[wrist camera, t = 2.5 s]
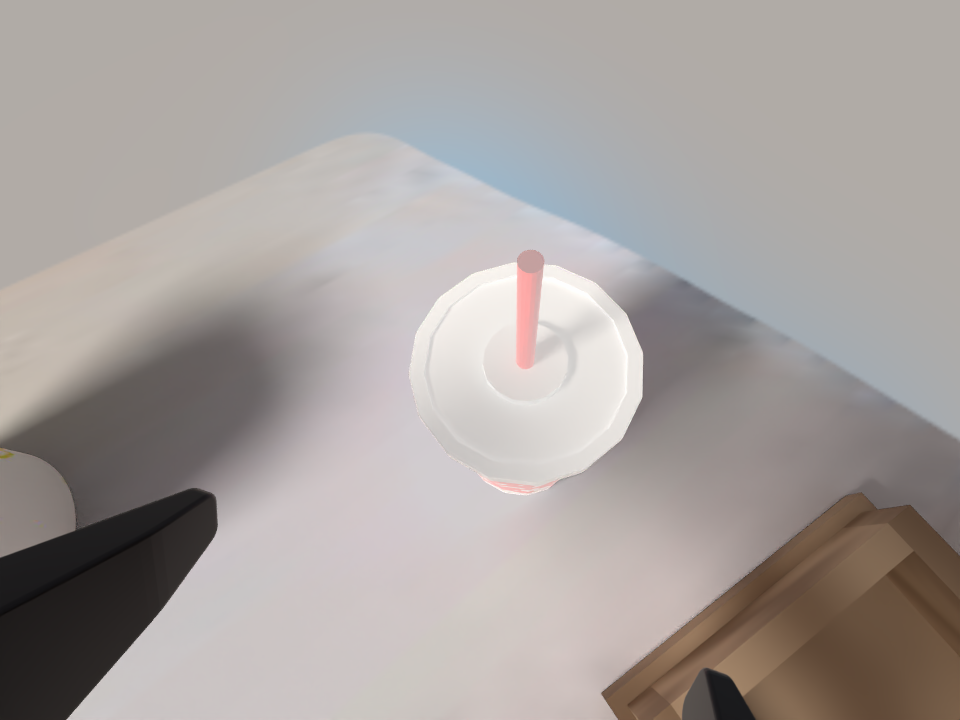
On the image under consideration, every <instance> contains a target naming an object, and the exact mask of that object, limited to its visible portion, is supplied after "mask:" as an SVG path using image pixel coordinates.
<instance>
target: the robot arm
mask: <svg viewBox="0 0 960 720" xmlns="http://www.w3.org/2000/svg"><path fill="white" fill-rule="evenodd" d="M217 527H218V522H217V504H216V497H215V496H214V494H212V493H210V492H207V491H204V490H201V489H198V488H191V489H188V490H185V491H182V492H180V493H177V494H174V495H171V496H169V497H166V498H163V499H160V500H158V501H155V502H152V503H149V504H147V505H144V506H141V507H138V508H135V509H133V510H130V511H127V512H124V513H122V514H119V515H116V516H113V517H111V518H108V519H105V520H102V521H100V522H97V523H94V524H91V525H89V526H86V527H83V528H80V529H78V530H75V531H72V532H69V533H67V534H64V535H61V536H58V537H55V538H53V539H50V540H47V541H44V542H42V543H39V544H36V545H33V546H31V547H28V548H25V549H22V550H20V551H17V552H14V553H11V554H9V555H6V556H3V557H0V720H66V719H67V718H68V717H69V716H70V715H71V714H72V713H73V711H74V710H75V709H76V708H77V707H78V706H79V705H80V703H81V702H82V701H83V700H84V699H85V698H86V697H87V695H88V694H89V693H90V692H91V691H92V690H93V688H94V687H95V686H96V685H97V684H98V683H99V682H100V680H101V679H102V678H103V677H104V676H105V675H106V674H107V672H108V671H109V670H110V669H111V668H112V667H113V666H114V664H115V663H116V662H117V661H118V660H119V659H120V657H121V656H122V655H123V654H124V653H125V652H126V651H127V649H128V648H129V647H130V646H131V645H132V644H133V643H134V641H135V640H136V639H137V638H138V637H139V636H140V635H141V633H142V632H143V631H144V630H145V629H146V628H147V626H148V625H149V624H150V623H151V622H152V621H153V619H154V618H155V617H156V616H157V615H158V613H159V612H160V611H161V610H162V609H163V607H164V606H165V605H166V603H167V602H168V601H169V599H170V598H171V597H172V595H173V594H174V592H175V591H176V590H177V588H178V587H179V585H180V584H181V583H182V581H183V580H184V579H185V577H186V576H187V574H188V573H189V572H190V570H191V569H192V567H193V566H194V565H195V563H196V562H197V561H198V559H199V558H200V556H201V555H202V554H203V552H204V551H205V549H206V548H207V547H208V545H209V544H210V543H211V541H212V540H213V538H214V536H215V534H216V531H217ZM682 720H756V718H755V717H754V715H753V713H752V712H751V710H750V708H749V707H748V705H747V703H746V701H745V700H744V698H743V696H742V695H741V693H740V691H739V690H738V688H737V686H736V684H735V683H734V681H733V680H732V679H731V678H730V677H729V676H728V675H727V674H724V673H721V672H719V671H716V670H713V669H710V668H706V667H705V668H702V669H701V670H700V671H699V673H698V675H697V677H696V678H695V680H694V682H693V684H692V686H691V687H690V689H689V691H688V693H687V694H686V697H685V699H684V703H683V708H682Z"/></svg>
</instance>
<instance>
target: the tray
mask: <svg viewBox="0 0 960 720" xmlns="http://www.w3.org/2000/svg"><path fill="white" fill-rule="evenodd" d="M705 667H706V668H710V669H713V670H716V671H719V672H721V673H724V674H727V675H728V676H729V677H730V678H731V679H732V680H733V681H734V683H735V684H736V686H737V688H738V690H739V691H740V693H741V695H742V696H743V698H744V700H745V701H746V703H747V705H748V707H749V708H750V710H751V712H752V713H753V715H754V717H755V718H756V720H960V556H959V555H958V554H957V553H956V552H955V551H954V550H953V549H952V548H951V547H950V546H949V545H948V544H947V543H946V542H945V540H944V539H943V538H942V537H941V536H940V535H939V534H938V533H937V532H936V531H935V530H934V529H933V528H932V527H931V526H930V525H929V524H928V523H927V522H926V521H925V520H924V519H923V518H922V517H921V516H920V515H919V514H918V513H917V512H916V511H915V510H914V509H913V507H912V506H911V505H906V506H899V507H892V508H886V509H879V510H878V509H877V508H876V507H875V506H874V505H873V504H872V503H871V502H870V501H869V500H868V499H867V498H866V497H865V496H864V495H863V494H862V492H861V493H857V494H852V495H847V496H845V497H844V498H842V499H841V500H840V501H839V502H837V503H836V504H835V505H834V506H833V507H831V508H830V509H829V510H828V511H826V512H825V513H824V514H823V515H821V516H820V517H819V518H818V519H816V520H815V521H814V522H813V523H811V524H810V525H809V526H808V527H807V528H805V529H804V530H803V531H802V532H800V533H799V534H798V535H797V536H795V537H794V538H793V539H792V540H790V541H789V542H788V543H787V544H785V545H784V546H783V547H782V548H780V549H779V550H778V551H777V552H776V553H774V554H773V555H772V556H771V557H769V558H768V559H767V560H766V561H764V562H763V563H762V564H761V565H759V566H758V567H757V568H756V569H754V570H753V571H752V572H751V573H750V574H748V575H747V576H746V577H745V578H743V579H742V580H741V581H740V582H738V583H737V584H736V585H735V586H733V587H732V588H731V589H730V590H728V591H727V592H726V593H725V594H724V595H722V596H721V597H720V598H719V599H717V600H716V601H715V602H714V603H712V604H711V605H710V606H709V607H707V608H706V609H705V610H704V611H702V612H701V613H700V614H699V615H698V616H696V617H695V618H694V619H693V620H691V621H690V622H689V623H688V624H686V625H685V626H684V627H683V628H681V629H680V630H679V631H678V632H676V633H675V634H674V635H673V636H671V637H670V638H669V639H668V640H667V641H665V642H664V643H663V644H662V645H660V646H659V647H658V648H657V649H655V650H654V651H653V652H652V653H650V654H649V655H648V656H647V657H645V658H644V659H643V660H642V661H641V662H639V663H638V664H637V665H636V666H634V667H633V668H632V669H631V670H629V671H628V672H627V673H626V674H624V675H623V676H622V677H621V678H619V679H618V680H617V681H616V682H615V683H613V684H612V685H611V686H610V687H608V688H607V689H606V690H605V691H603V692H602V693H601V694H602V695H603V697H604V699H605V700H606V702H607V703H608V705H609V706H610V708H611V709H612V711H613V712H614V714H615V715H616V717H617V718H618V720H682V708H683V703H684V699H685V697H686V694H687V693H688V691H689V689H690V687H691V686H692V684H693V682H694V680H695V678H696V677H697V675H698V673H699V671H700V670H701V669H702V668H705Z"/></svg>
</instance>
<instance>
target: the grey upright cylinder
mask: <svg viewBox="0 0 960 720" xmlns="http://www.w3.org/2000/svg"><path fill="white" fill-rule="evenodd" d="M75 529H76V515H75V506H74V501H73V498H72V494H71V492H70V489H69V487H68V485H67V483H66V482H65V480H64V478H63V477H62V476H61V474H60V473H59V472H58V471H57V470H56V469H55V468H54V467H53V466H51V465H50V464H49V463H47V462H46V461H44V460H42V459H40V458H38V457H36V456H33V455H29V454H26V453H21V452H17V451H12V450H8V449H4V448H0V557H3V556H6V555H9V554H11V553H14V552H17V551H20V550H22V549H25V548H28V547H31V546H33V545H36V544H39V543H42V542H44V541H47V540H50V539H53V538H55V537H58V536H61V535H64V534H67V533H69V532H72V531H75Z"/></svg>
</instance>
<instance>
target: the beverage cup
mask: <svg viewBox="0 0 960 720" xmlns="http://www.w3.org/2000/svg"><path fill="white" fill-rule="evenodd" d="M409 378H410V382H411V387H412V391H413V395H414V399H415V403H416V407H417V411H418V416H419V418H420V419H421V421H422V422H423V423H424V425H425V426H426V427H427V429H428V430H429V431H430V432H431V434H432V435H433V436H434V438H435V439H436V440H437V442H438V443H439V444H440V446H441V447H442V448H443V450H444V451H445V452H446V453H447V455H448V456H450V458H451V459H453V460H455V461H457V462H458V463H460V464H462V465H464V466H465V467H467V468H469V469H471V470H473V471H474V472H476V473H478V474H479V476H480V477H481V478H482V479H483V480H484V481H485V482H487V483H488V484H490V485H492V486H494V487H495V488H497V489H499V490H501V491H502V492H504V493H511V494H520V495H530V494H533V493H537V492H540V491H543V490H547V489H549V488H550V487H551V486H552V485H554V484H555V483H556V482H557V481H559V480H560V479H563V478H566V477H570V476H573V475H577V474H580V473H582V472H583V471H585V470H586V469H587V468H588V467H590V466H591V465H592V464H593V463H594V462H596V461H597V460H598V459H599V458H600V457H602V456H603V455H604V454H605V453H606V452H608V451H609V450H610V449H611V448H612V447H614V446H615V445H616V444H617V443H618V442H620V441H621V440H622V438H623V436H624V434H625V432H626V430H627V428H628V426H629V424H630V422H631V420H632V418H633V416H634V414H635V411H636V409H637V407H638V405H639V403H640V401H641V399H642V391H643V352H642V349H641V347H640V345H639V342H638V340H637V337H636V335H635V333H634V330H633V328H632V326H631V323H630V321H629V318H628V316H627V314H626V313H625V312H624V311H623V310H622V309H621V308H620V307H619V306H618V305H617V304H616V303H615V302H614V301H613V300H612V299H611V298H610V297H609V296H608V295H607V294H606V293H605V292H604V291H603V290H602V289H601V288H600V287H599V286H598V285H597V284H596V283H595V282H592V281H590V280H588V279H586V278H583V277H581V276H579V275H577V274H574V273H572V272H570V271H568V270H566V269H563V268H561V267H559V266H557V265H544V258H543V256H542V255H541V254H540V253H539V252H537V251H535V250H527V251H524V252H522V253H521V254H520V255H519V257H518V258H517V262H513V263H509V264H506V265H502V266H498V267H495V268H491V269H487V270H484V271H480V272H476V273H473V274H471V275H470V276H469V277H467V278H466V279H464V280H463V281H462V282H460V283H459V284H457V285H456V286H455V287H453V288H452V289H450V290H449V291H448V292H446V293H445V294H443V295H442V296H440V297H439V298H438V300H437V301H436V303H435V304H434V306H433V307H432V309H431V310H430V312H429V314H428V315H427V317H426V318H425V320H424V321H423V323H422V324H421V326H420V327H419V329H418V330H417V332H416V336H415V341H414V347H413V352H412V358H411V363H410V369H409Z"/></svg>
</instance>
